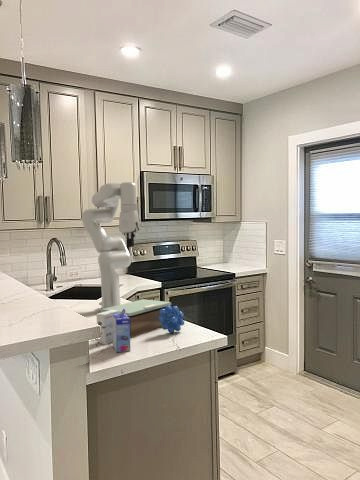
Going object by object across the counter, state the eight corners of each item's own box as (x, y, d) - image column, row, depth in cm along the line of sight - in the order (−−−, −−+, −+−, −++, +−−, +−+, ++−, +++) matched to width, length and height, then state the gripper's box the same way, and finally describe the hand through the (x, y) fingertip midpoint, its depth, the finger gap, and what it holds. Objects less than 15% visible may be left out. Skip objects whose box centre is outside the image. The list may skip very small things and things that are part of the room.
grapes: (162, 337, 159) (161, 308, 158) (156, 333, 165) (155, 305, 164) (188, 333, 163) (187, 304, 163) (182, 329, 169) (181, 301, 169)
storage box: (103, 330, 172) (102, 312, 172) (143, 318, 190) (142, 302, 190) (131, 337, 160) (130, 318, 160) (171, 324, 178) (170, 307, 178)
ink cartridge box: (131, 351, 143) (130, 312, 143) (116, 353, 142) (114, 313, 141) (127, 343, 153) (125, 306, 152) (112, 345, 151) (111, 308, 150)
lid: (102, 311, 171) (101, 307, 171) (143, 301, 190) (142, 298, 190) (131, 316, 159) (130, 311, 159) (171, 304, 178) (171, 301, 177)
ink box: (113, 337, 162) (112, 308, 161) (121, 339, 159) (120, 310, 158) (97, 342, 155) (95, 313, 154) (105, 344, 152) (103, 314, 151)
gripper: (112, 209, 190) (114, 247, 191) (133, 207, 180) (135, 247, 181) (124, 209, 195) (126, 246, 196) (145, 207, 186) (146, 246, 187)
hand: (130, 246), depth 189 cm, fingers closed
